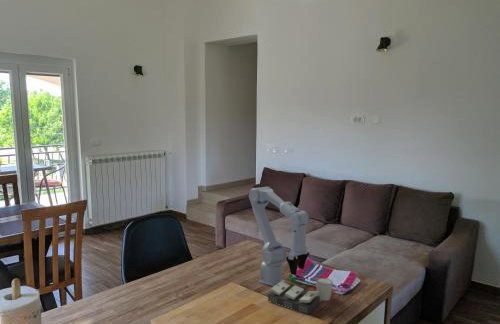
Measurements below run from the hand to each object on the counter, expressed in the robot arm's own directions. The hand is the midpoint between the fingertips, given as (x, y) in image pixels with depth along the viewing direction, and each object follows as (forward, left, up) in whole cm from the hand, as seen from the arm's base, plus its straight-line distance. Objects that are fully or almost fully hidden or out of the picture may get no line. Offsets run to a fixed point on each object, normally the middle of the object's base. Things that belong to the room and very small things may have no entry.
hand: (297, 271), depth 155 cm
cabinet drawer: (+9, -7, -6) cm, 13 cm away
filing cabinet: (+2, -7, -10) cm, 13 cm away
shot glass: (+11, +4, -10) cm, 15 cm away
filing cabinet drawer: (+2, -7, -6) cm, 10 cm away
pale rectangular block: (-4, -7, -6) cm, 10 cm away
